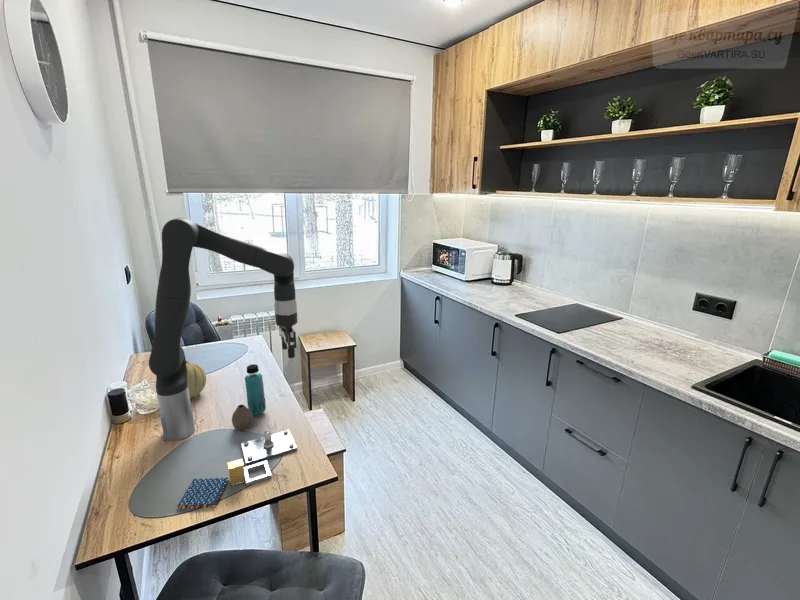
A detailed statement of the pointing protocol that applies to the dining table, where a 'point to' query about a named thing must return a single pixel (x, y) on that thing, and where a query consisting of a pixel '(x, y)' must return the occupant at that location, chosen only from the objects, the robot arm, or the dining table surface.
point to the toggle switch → (268, 447)
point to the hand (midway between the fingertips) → (288, 353)
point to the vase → (242, 418)
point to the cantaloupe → (195, 379)
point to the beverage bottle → (255, 390)
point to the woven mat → (203, 493)
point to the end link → (246, 472)
